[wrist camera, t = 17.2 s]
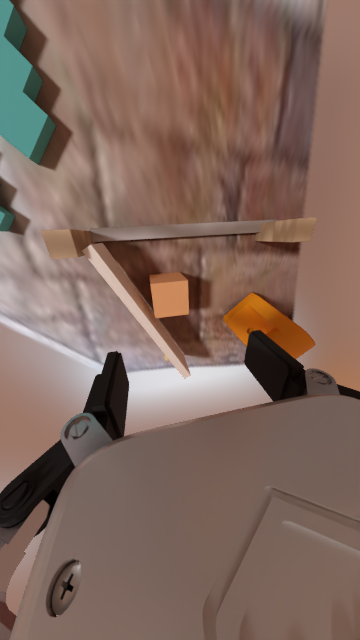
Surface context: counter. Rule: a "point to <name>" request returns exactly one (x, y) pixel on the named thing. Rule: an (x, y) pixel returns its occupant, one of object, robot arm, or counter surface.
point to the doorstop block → (169, 294)
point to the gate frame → (176, 233)
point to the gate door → (135, 304)
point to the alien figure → (19, 97)
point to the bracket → (267, 325)
